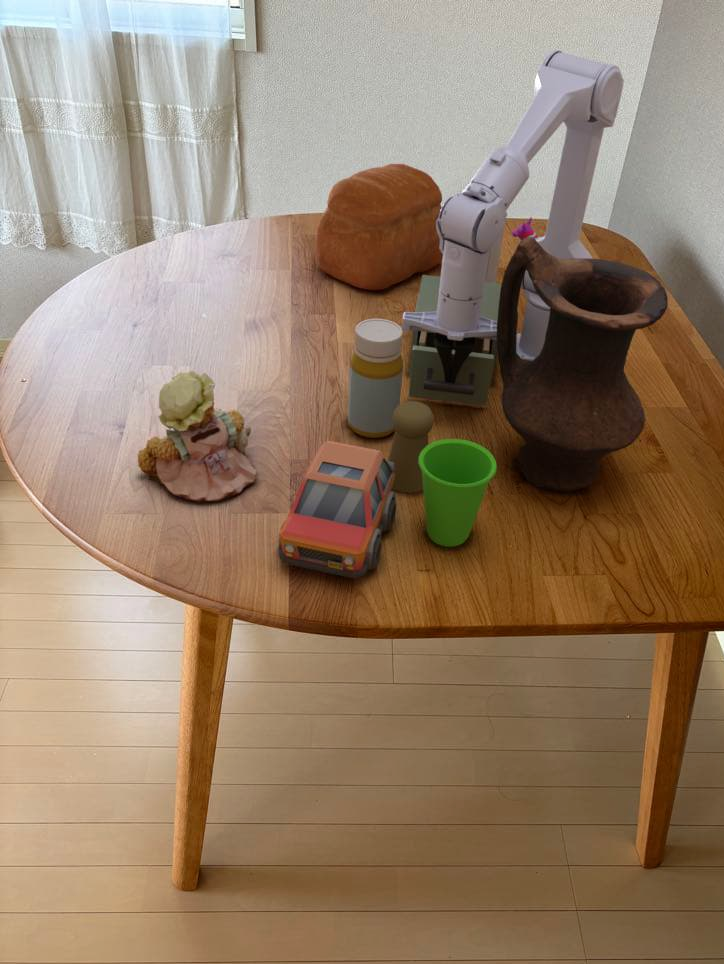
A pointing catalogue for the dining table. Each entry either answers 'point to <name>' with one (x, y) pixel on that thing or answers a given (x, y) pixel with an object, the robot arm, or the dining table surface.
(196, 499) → the figurine
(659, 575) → the dining table surface
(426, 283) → the cabinet
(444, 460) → the cup
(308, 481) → the toy car
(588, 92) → the robot arm
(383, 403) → the bottle
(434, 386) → the drawer
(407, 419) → the pepper shaker
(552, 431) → the jug
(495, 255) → the energy drink can
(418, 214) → the bread
